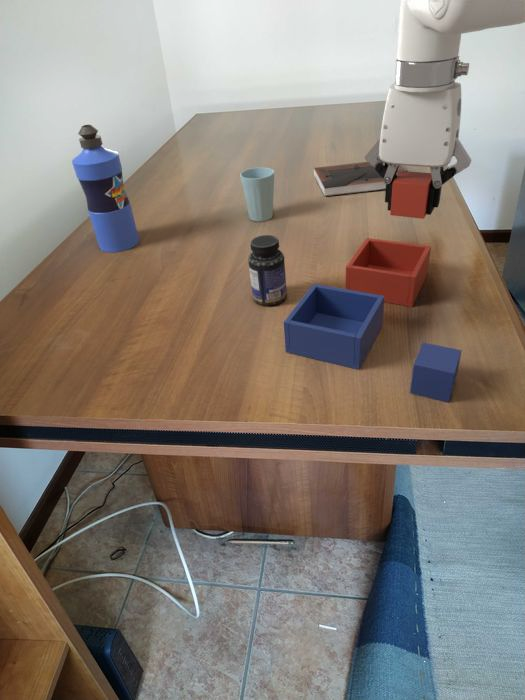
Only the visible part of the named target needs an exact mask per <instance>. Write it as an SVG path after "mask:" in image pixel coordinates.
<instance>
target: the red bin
mask: <svg viewBox="0 0 525 700" xmlns="http://www.w3.org/2000/svg"><path fill="white" fill-rule="evenodd" d="M431 252H432V246H431V245H426V244H417V243H410V242H403V241H402V242H401V241H394V240H387V239H386V240H385V239H379V238H369V237H367V238H365V240H364V241H363V243H362V244H361V246H359V248H358V250H357V251H356V252H355V253H354V255H353V256H352V258H351V259H350V260H349V262H348V263H347V265H346V266H345V286H344V287H345V288H344V289H347V290H353V291H359V292H364V293H370V294H376V295H382V296H384V303H388V304H393V305H398V306H404V307H410V308H413V306H414V304H415V302H416V299H417V297H418V295H419V293H420V291H421V289H422V287H423V285H424V283H425V280H426V278H427V277H428V273H429V267H430V258H431Z"/></svg>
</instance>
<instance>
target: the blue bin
mask: <svg viewBox="0 0 525 700" xmlns="http://www.w3.org/2000/svg"><path fill="white" fill-rule="evenodd" d="M384 308H385V302H384V296H382V295H376V294H370V293H364V292H359V291H353V290H347V289H345V288H340V287H334V286H329V285H323V284H317V283H313V284H312V285H311V286H310V287H309V289H308V290H307V291H306V293H305V294H304V295H303V297H302V298H301V299H300V300H299V302H298V303H297V304H296V305H295V307H294V308H293V309H292V310H291V312H290V313H289V315H288V316H287V317H286V318H285V320H284V321H283V333H284V347H285V353H288V354H292V355H296V356H299V357H305V358H309V359H313V360H317V361H320V362H326V363H328V364H333V365H338V366H342V367H347V368H351V369H355V370H360V369H361V368H362V366H363V363H364V362H365V360H366V358H367V356H368V354H369V352H370V350H371V349H372V346H373V345H374V343H375V342H376V339H377V337H378V335H379V333H380V331H381V329H382V328H383V323H384V321H383V320H384V311H385V310H384Z"/></svg>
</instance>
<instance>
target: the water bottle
mask: <svg viewBox="0 0 525 700" xmlns="http://www.w3.org/2000/svg"><path fill="white" fill-rule="evenodd" d="M98 132H99V130H98V129H97V128H96V127H95V126H93V125H92V124H83V125H82V126H81V127H80V129H79V131H78V133H77V135H78V136H80V137H79V138H78V140H79V144H80V148H81V149H82V150H81V152H80V153H79V154H78V155H77V156H75V157H74V158H73V159H72V160H71V163H72V166H73V170H74V173H75V176H76V178H77V180H78V182H79V184H80V186H81V189H82V192H83V193H84V195H85V196H84V197H85V199H86V205H87V213H88V215H89V219H90V222H91V225H92V228H93V232H94V235H95V239H96V242H97V244H98V248H99V250H101V251H102V252H105V253H117V252H118V253H120V252H124V251H128V250H130V249H132V248H133V247H135V246H137V245H138V244H139V242H140V236H139V232H138V228H137V225H136V220H135V217H134V213H133V209H132V205H131V202H130V200H129V197H128V195H127V192H126V190H125V183H124V176H123V166H122V163H121V159H120V158H121V157H120V155H119V152H118V151H115V150H112V149H109V148H106V147H104V146H103V140H102V136H101V135H100V134H98Z"/></svg>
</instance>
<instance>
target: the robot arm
mask: <svg viewBox="0 0 525 700" xmlns="http://www.w3.org/2000/svg"><path fill="white" fill-rule="evenodd" d="M524 23H525V0H400V3H399V19H398V32H397V45H396V59H395V70H394V71H395V72H394V83H391V85H390V86H389V88H388V93H387V97H386V101H385V105H384V109H383V115H382V116H383V117H382V121H381V128H380V129H381V130H380V137H379V139H378V140H377V141H376V142H375V143H374V144H373V146H372V147H371V148H370V149H369V151H367V153H366V154H365V156H364V160H365V162H368V163H369V164H371V165H372V166H373V167H374V168H375V170H376V171H377V172H378V173H379V175H380V176H381V177H382V178H383V181H384V183H385V184H386V189H385V192H384V203H387V211H390V212H391V199H392V186H393V182H394V180H395V179H396V178H397V175H396V174H397V172H398V169H399V167H400V168H401V166H409V167H411V166H412V167H423V168H429V169H430V170H429V171H430V173H431V176H432V184H431V187H430V188H429V193H428V201H427V209H426V213H427V214H426V216H427V215H428V216H430V215H432V213H433V211H434V210H435V208H436V209H437V208H438V207H439V206H440V202H441V201H440V200H441V194H442V189H443V188H442V187H443V185H445V183H448V181H450V180H451V179H452V178H454V177H455V176H457V174H459V173H461V172H462V171H464V170H465V169H467V168H469V167H470V165H471V163H472V158H471V156H470V155H469V153H468V152H467V150H466V149H465V147H464V145H463V144H462V142H461V141H460V138H459V136H460V130H461V129H460V128H461V127H460V126H461V116H462V115H461V114H462V84H461V83H460V82H457V81H456V80H457V79H458V78H459V77H462V76H468V74H469V70H470V69H469V68H470V63H469V62H463V61H461V59H460V55H459V53H460V46H461V40H462V39H461V38H462V34H467V33H468V34H469V33H473V32H480V31H485V30H489V29H494V28H502V27H510V26H515V25H521V24H524ZM453 157H454V158H455V159H456V160H457V161H456V162H454V163H453V164H451V165H450V163H451V162H452V158H453ZM387 163H388V164H389V165H388V164H387ZM446 166H448V167H447V168H446V169H445V167H446Z"/></svg>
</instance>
